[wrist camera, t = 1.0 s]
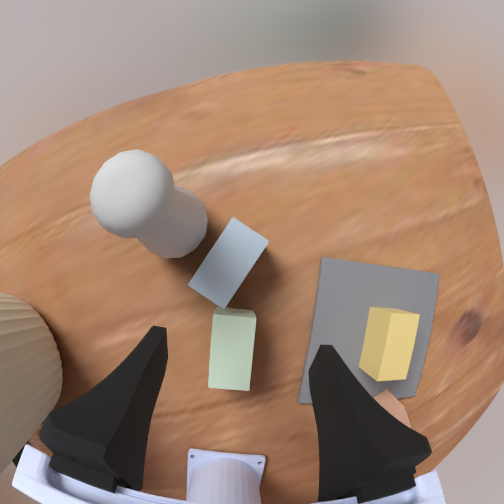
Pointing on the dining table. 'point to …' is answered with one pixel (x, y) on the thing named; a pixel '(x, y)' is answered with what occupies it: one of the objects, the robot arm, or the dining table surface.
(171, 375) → the dining table surface
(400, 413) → the terracotta brick
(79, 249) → the dining table surface
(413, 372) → the felt mat
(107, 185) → the salt shaker
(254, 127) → the dining table surface
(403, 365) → the mustard brick
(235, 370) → the green brick
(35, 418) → the canister
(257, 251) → the slate brick
